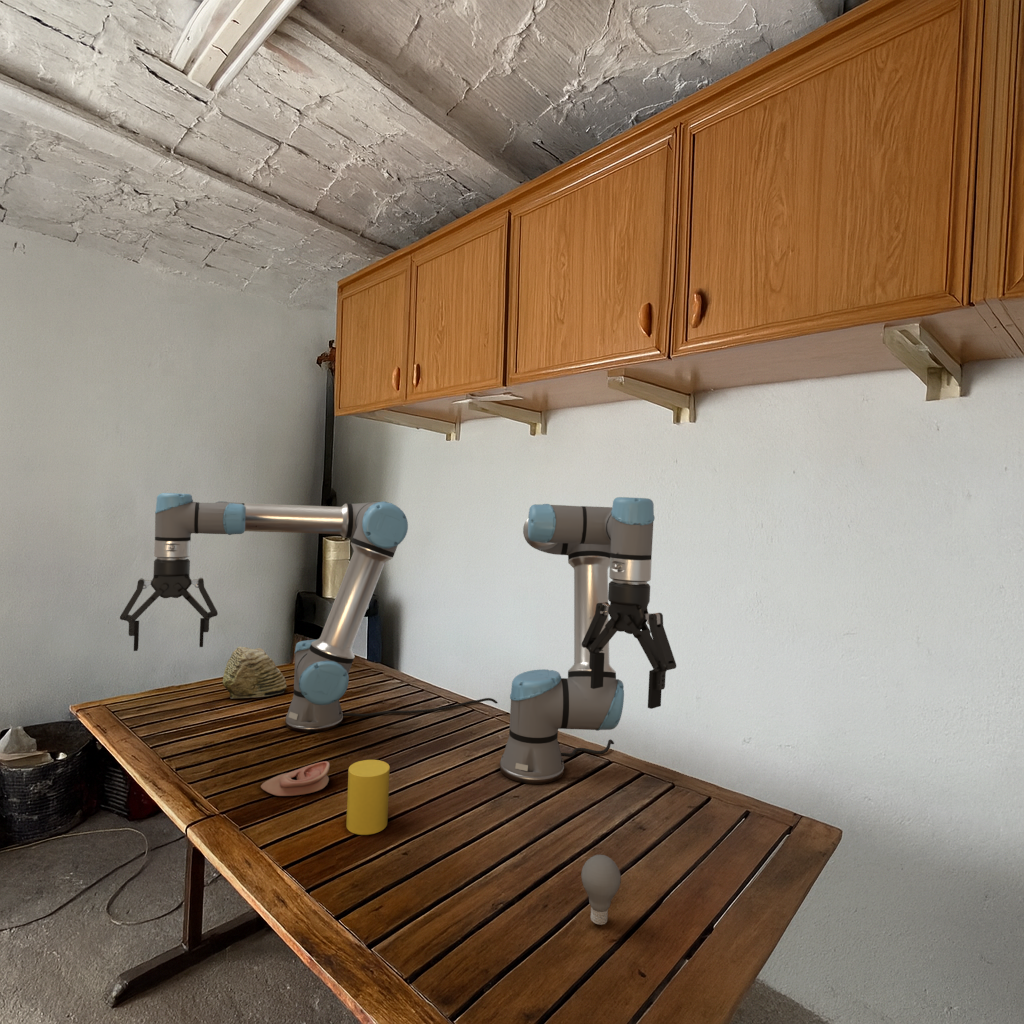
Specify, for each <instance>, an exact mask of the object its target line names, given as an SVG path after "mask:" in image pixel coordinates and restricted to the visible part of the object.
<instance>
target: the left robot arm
mask: <svg viewBox="0 0 1024 1024" xmlns="http://www.w3.org/2000/svg"><path fill="white" fill-rule="evenodd" d="M154 514H155V515H154V547H153V550H154V552H153V556H154V557H155V559H154V560H153V576H152V577H153V578H152V579H144V578H139V579H138V581H137V585H136V588H135V591H134V593H133V594H132V596H131V598H130V599H129V601H128V602H127V604H126V606H124V609H123V610H122V612H121V614H120V615H119V619H120V620H121V621H125V622H128V636H129V637H133V652H138V650H139V638H140V620H138V618H140V616H142V614H143V613H144V612H145V611H146V610H147V609H148V608H149V607H150V606H151V605H152V604H153V603H154V602H155V601H156V600H158V598H163V599H170V598H174V599H178V598H181V597H183V598H184V599H185V600H186V601H187V602H188V604H190V605H191V606H192V607H193V608H194V609H195V611H197V613H199V614H200V616H201V617H200V618H199V648H204V633H209V631H210V619H212V618H214V617H218V615H219V614H218V610H217V608H216V606H215V604H214V602H213V600H212V598H211V596H210V595H209V593H208V591H207V589H206V587H205V581H204V580H205V579H204V578H203V577H198V578H192V579H191V576H190V574H191V573H190V572H191V571H190V570H191V560H190V558H189V557H191V546H192V545H191V542H192V537H191V535H192V534H195V535H197V534H198V535H199V534H205V535H207V534H209V535H227V536H231V535H243V534H244V533H245V532H255V533H256V532H257V533H258V532H259V533H291V534H292V533H293V534H295V533H296V534H326V535H329V534H330V535H331V534H332V535H340V536H341V537H342V538H345V539H351V541H350V545H351V547H352V550H353V552H352V555H351V558H350V560H349V563H348V564H347V565H348V566H347V568H346V570H345V573H344V575H343V578H342V580H341V583H340V586H339V589H338V591H337V593H336V595H335V599H334V601H333V604H332V606H331V609H330V611H329V614H328V616H327V619H326V621H325V623H324V626H323V628H322V631H321V634H320V636H319V638H317V639H307V640H301V641H298V642H297V643H295V648H294V649H295V650H294V672H293V673H294V674H293V675H294V679H293V695H292V696H293V697H292V699H291V702H290V704H289V708H288V711H287V713H286V715H285V726H286V728H287V729H289V730H291V731H294V732H295V731H296V732H301V733H316V732H325V731H329V730H332V729H335V728H337V727H339V726H340V725H342V723H343V722H344V717H356V718H364V717H375V716H381V715H390V714H391V715H393V714H394V715H395V714H422V713H423V714H424V713H432V712H439V711H445V710H448V709H453V708H458V707H459V708H460V707H464V706H466V705H471V704H477V703H482V702H488V701H490V702H493V703H494V704H499V702H498V701H497V700H496V699H494V698H492V697H484V698H480V699H476V700H475V699H474V700H469V701H464V702H461V703H460V702H459V703H456V704H452V705H446V706H442V707H435V708H426V709H413V710H411V709H410V710H384V711H376V712H369V713H352V712H351V713H349V712H348V713H347V712H343V709H342V706H341V702H340V699H342V698H343V696H344V695H345V694H346V692H347V690H348V687H349V682H350V680H349V678H350V676H349V673H350V671H351V669H352V665H353V663H354V660H355V658H356V657H355V653H354V651H353V646H354V643H355V641H356V638H357V636H358V633H359V631H360V629H361V625H362V623H363V620H364V618H365V615H366V612H367V610H368V608H369V605H370V602H371V599H372V597H373V594H374V592H375V589H376V587H377V584H378V581H379V579H380V576H381V573H382V571H383V569H384V566H385V564H386V563H387V562H389V561H391V560H393V559H394V556H395V553H396V551H397V548H398V547H399V545H401V544H402V542H403V541H404V540H405V538H406V536H407V533H408V531H409V523H408V518H407V516H406V514H405V512H404V511H403V509H401V508H400V507H399V506H397V504H394V503H392V502H387V501H369V502H360V503H344V504H343V505H342V506H332V505H331V506H328V505H327V506H326V505H303V504H279V503H278V504H277V503H256V502H255V503H254V502H231V501H230V502H229V501H217V502H198V501H194V499H193V495H192V494H190V493H178V492H177V493H175V492H161V493H159V494H158V495H157V497H156V504H155V511H154ZM191 585H193V586H194V587H195V588H196V589H198V591H199V593H200V594H201V596H202V598H203V601H204V602H205V604H206V606H207V607H208V610H209V611H207V610H206V609H205V608H204V607H203V605H201V604H200V603H199V602H198V600H197V599H196V598H195V597H194V596H193V595H192V594H191V593H190V591H189V588H190V587H191ZM149 586H151V588H152V589H153V590H154V591H153V592H152V594H151V595H150V596H149V597H148V598H147V599H146V600H145V601H144V602H143V603H142V604H141V605H140V606H139V607H138V608H137V610H135V611H134V612H133V613H132V614H130V612H131V610H132V609H133V607H134V606H135V604H136V602H137V601H138V599H139V597H140V595H141V594H142V592H143V590H146V589H147V588H148V587H149Z"/></svg>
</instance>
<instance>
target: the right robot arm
mask: <svg viewBox="0 0 1024 1024" xmlns="http://www.w3.org/2000/svg"><path fill="white" fill-rule="evenodd" d="M654 504H655V503H654V502H653V500H652V499H651V498H649V497H648V498H646V497H625V496H623V497H622V496H618V497H615V498H614V499H613V500H612V507H611V506H589V505H563V504H550V503H542V504H541V503H540V504H532V505H530V506H529V509H528V516H527V517H528V518H527V519H526V520H525V522H524V524H523V527H522V528H523V530H522V532H523V533H522V534H523V537H524V540H525V542H526V543H527V544H528V545H529V546H530V547H531V548H533V549H535V550H537V551H539V552H543V553H546V554H549V555H556V556H557V555H558V556H567V563H568V565H569V566H571V568H573V581H574V582H573V653H574V654H573V665H572V666H571V667H570V668H569V669H568V670H567V678H565V677H562V676H561V673H560V672H559V671H557V670H553V669H543V668H542V669H532V670H528V671H523V672H522V673H521V672H520V673H519V674H517V675H516V676H515V677H514V678H513V680H512V682H511V687H510V689H511V690H510V694H509V699H510V710H509V711H510V713H509V729H508V731H509V732H508V739H507V742H506V744H505V748H504V752H503V754H502V755H501V758H500V760H499V770H500V772H501V774H502V775H503V776H505V778H507V779H510V780H513V781H515V782H519V783H524V784H529V785H531V784H532V785H533V784H534V785H539V784H548V783H552V782H556V781H557V780H559V779H561V778H562V777H563V776H564V773H565V763H564V759H563V757H567V758H572V757H574V756H575V755H576V754H577V752H584V753H589V754H593V755H603V754H606V753H607V752H608V751H609V750H610V748H611V745H614V744H615V742H614V740H612V739H608V741H607V745H606V747H605V748H604V749H602V750H595V749H590V748H586V747H576V748H574V749H573V750H572V752H570V753H569V752H561V748H560V743H559V740H558V739H559V737H558V736H559V729H560V730H583V731H584V730H587V731H599V732H600V731H610V730H614V729H615V728H617V727H618V726H619V723H620V721H621V718H622V713H623V709H624V702H625V690H624V682H623V681H622V680H620V679H619V678H617V671H616V670H615V668H613V667H612V666H611V664H610V640H612V638H613V637H614V636H615V635H616V633H617V632H621V633H622V632H623V633H626V634H628V635H633V637H634V638H635V639H637V641H638V643H639V645H640V647H641V649H642V650H643V652H644V654H645V656H646V658H647V660H648V661H649V664H650V666H651V667H652V669H650V670H649V672H648V690H647V691H648V693H647V709H649V710H652V709H656V708H660V707H662V691H663V690H665V688H666V673H667V671H671V670H674V669H676V668H677V663H676V659H675V655H674V654H673V650H672V648H671V645H670V641H669V638H668V635H667V632H666V630H665V627H664V614H663V613H662V612H654V613H651V612H650V613H649V610H648V607H649V604H650V602H651V598H650V597H651V585H650V583H648V582H650V581H651V580H652V559H653V557H652V556H653V555H652V554H653V537H654V522H655V518H656V517H655V512H654V511H655V509H654ZM609 579H611V581H609ZM609 617H610V619H609Z"/></svg>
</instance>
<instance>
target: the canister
mask: <svg viewBox="0 0 1024 1024" xmlns="http://www.w3.org/2000/svg"><path fill="white" fill-rule="evenodd" d="M390 769H391V767H390V765H389V763H387V762H386V761H383V760H379V759H364V760H358V761H355V762H353V763H351V764H350V766H349V767H348V770H347V771H348V772H347V773H348V774H347V794H346V795H347V797H346V822H345V824H346V825H345V826H346V829H347V830H348V831H349V832H350V833H352V834H355V835H358V836H359V835H361V836H369V835H375V834H377V833H379V832H382V831H383V830H384V829H386V827H387V826H388V823H389V822H388V819H389V818H388V817H389V798H390V797H389V796H390V771H391V770H390Z"/></svg>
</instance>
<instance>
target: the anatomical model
mask: <svg viewBox="0 0 1024 1024" xmlns="http://www.w3.org/2000/svg"><path fill="white" fill-rule="evenodd" d="M330 766H331V765H330V762H329V761H327V760H325V761H320V762H316V763H312V764H309V765H306V766H302V767H300V768H298V769H295V770H292V771H289V772H285V773H281V774H278V775H276V776H273V777H271V778H269V779H267V780H266V781H264V782H262V783H261V785H260V788H261V789H262V790H263V791H264V792H266V793H268V794H270V795H273V796H276V797H293V796H300V795H301V796H302V795H307V794H311V793H315V792H318V791H321V790H323V789H324V788H325V787H326V786H328V783H329V781H330V778H329V776H328V773H329V770H330Z"/></svg>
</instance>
